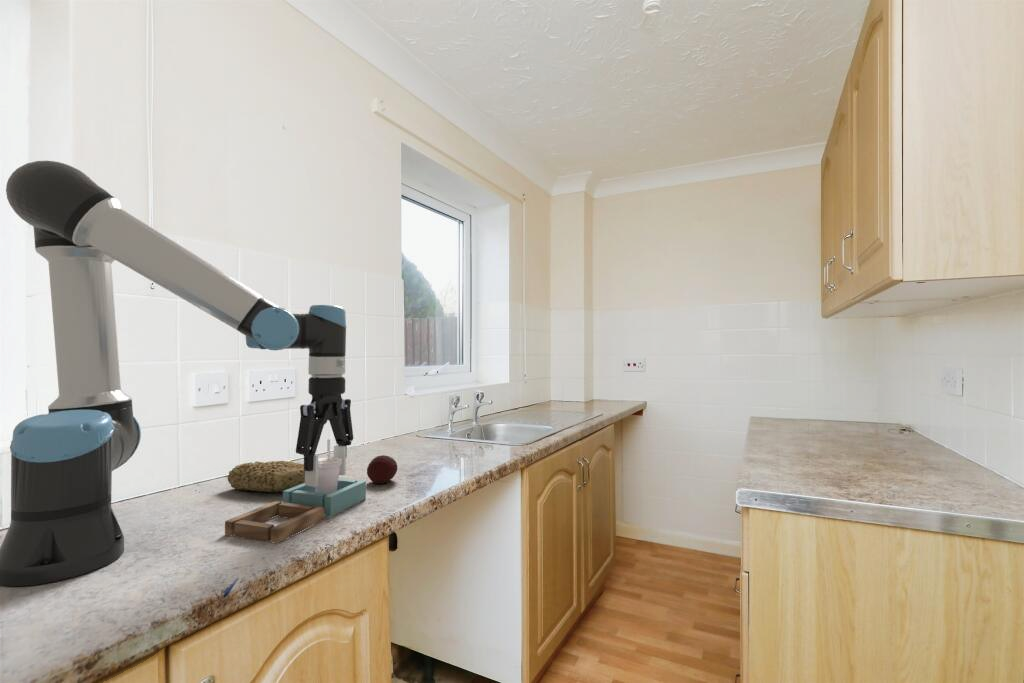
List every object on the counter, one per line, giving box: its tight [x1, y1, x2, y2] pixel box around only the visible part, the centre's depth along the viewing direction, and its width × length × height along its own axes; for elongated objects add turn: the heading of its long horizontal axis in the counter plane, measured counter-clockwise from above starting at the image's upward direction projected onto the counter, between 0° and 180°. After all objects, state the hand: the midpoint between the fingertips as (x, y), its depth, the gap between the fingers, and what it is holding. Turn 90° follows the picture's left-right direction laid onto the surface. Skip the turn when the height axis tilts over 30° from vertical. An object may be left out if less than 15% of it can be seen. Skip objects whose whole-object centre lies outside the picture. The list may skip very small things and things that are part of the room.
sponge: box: [227, 460, 305, 493], centre depth 116 cm, size 13×8×20 cm
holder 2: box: [282, 477, 367, 517], centre depth 106 cm, size 12×12×4 cm
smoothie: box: [315, 439, 342, 495], centre depth 105 cm, size 6×6×14 cm
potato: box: [366, 454, 398, 485], centre depth 123 cm, size 7×8×7 cm
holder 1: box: [224, 500, 325, 544], centre depth 92 cm, size 12×12×2 cm
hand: (326, 479), depth 106 cm, fingers open, 8 cm apart
